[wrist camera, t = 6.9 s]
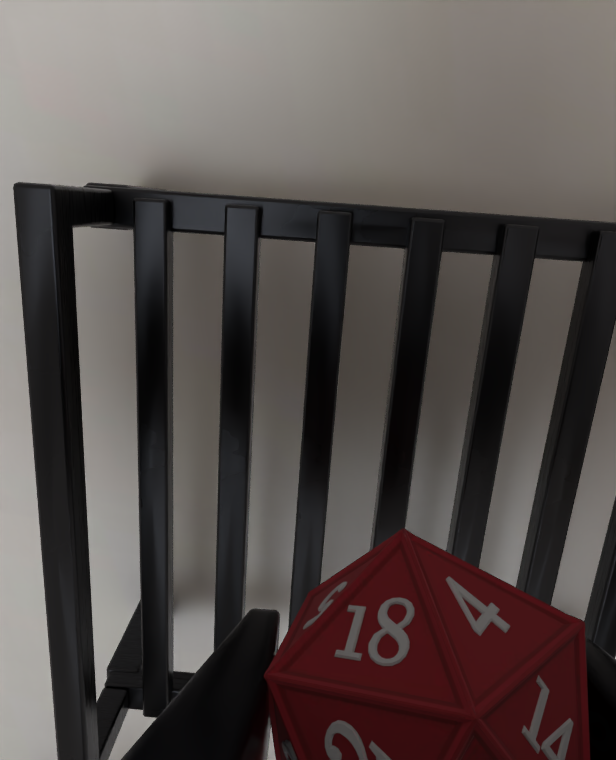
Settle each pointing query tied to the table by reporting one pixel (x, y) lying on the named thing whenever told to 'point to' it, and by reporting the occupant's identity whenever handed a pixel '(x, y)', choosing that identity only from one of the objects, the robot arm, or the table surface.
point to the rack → (238, 357)
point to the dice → (428, 666)
